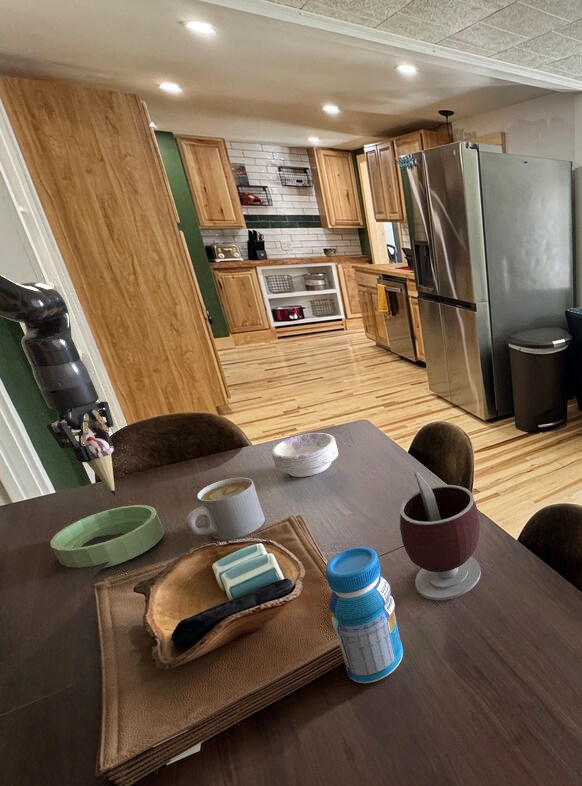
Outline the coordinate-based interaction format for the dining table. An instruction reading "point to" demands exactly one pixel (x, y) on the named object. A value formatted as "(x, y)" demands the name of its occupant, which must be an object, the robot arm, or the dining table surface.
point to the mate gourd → (441, 539)
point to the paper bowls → (305, 454)
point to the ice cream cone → (102, 461)
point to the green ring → (127, 519)
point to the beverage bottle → (363, 615)
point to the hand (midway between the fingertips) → (97, 454)
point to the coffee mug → (227, 509)
